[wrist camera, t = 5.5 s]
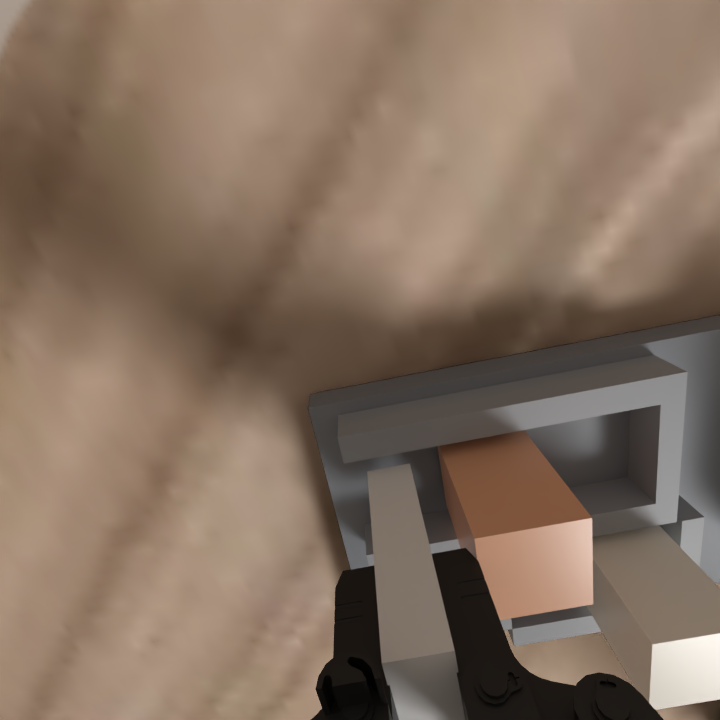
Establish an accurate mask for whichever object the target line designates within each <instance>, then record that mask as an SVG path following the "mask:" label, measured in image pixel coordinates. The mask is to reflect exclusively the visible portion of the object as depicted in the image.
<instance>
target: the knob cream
mask: <svg viewBox="0 0 720 720" xmlns="http://www.w3.org/2000/svg"><path fill="white" fill-rule="evenodd" d="M592 539H593V604H592V605H586V606H587V608H588V610H589V611H590V613H591V615H592V616H593V618H594V620H595V621H596V623H597V625H598V626H599V628H600V630H601V631H602V633H603V635H604V636H605V638H606V640H607V641H608V643H609V645H610V647H611V648H612V650H613V652H614V653H615V655H616V657H617V658H618V660H619V662H620V663H621V665H622V667H623V668H624V670H625V672H626V673H627V675H628V677H629V678H630V680H631V682H632V684H633V685H634V687H635V689H636V690H637V691H639V692H640V693H641V694H642V695H643V696H644V697H645V699H646V700H647V701H648V702H649V703H650V704H651V706H652V707H653V708H654V709H655V710H657V709H663V708H670V707H676V706H682V705H688V704H695V703H701V702H707V701H713V700H720V588H719V587H718V586H717V585H716V584H715V583H714V582H713V581H712V580H711V579H710V577H709V576H708V575H707V574H706V573H705V572H704V571H703V570H702V569H701V568H700V567H699V566H698V565H697V564H696V563H695V562H694V561H693V560H692V559H691V558H690V557H689V556H688V555H687V554H686V553H685V552H684V551H683V550H682V549H681V547H680V546H679V545H678V544H677V543H676V542H675V541H674V540H673V539H672V538H671V537H670V536H669V535H668V534H667V533H666V532H665V531H664V530H663V529H662V528H661V527H660V526H659V525H657V526H652V527H646V528H640V529H635V530H629V531H623V532H618V533H612V534H606V535H601V536H595V537H592Z"/></svg>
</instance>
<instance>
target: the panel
mask: <svg viewBox="0 0 720 720" xmlns="http://www.w3.org/2000/svg"><path fill="white" fill-rule="evenodd" d="M308 410H309V414H310V418H311V421H312V425H313V429H314V433H315V436H316V440H317V444H318V448H319V452H320V455H321V459H322V463H323V467H324V470H325V474H326V478H327V482H328V485H329V489H330V493H331V497H332V501H333V504H334V508H335V512H336V516H337V519H338V523H339V527H340V531H341V534H342V538H343V542H344V546H345V550H346V553H347V557H348V561H349V565H350V568H351V570H352V569H357V568H363V567H368V566H374V555H373V541H372V528H371V515H370V502H369V488H368V475H367V471H372V470H378V469H383V468H388V467H394V466H399V465H404V464H409V463H410V466H411V470H412V474H413V479H414V483H415V487H416V491H417V495H418V499H419V504H420V508H421V512H422V516H423V520H424V525H425V529H426V533H427V537H428V541H429V545H430V550H431V554H434V553H439V552H445V551H450V550H456V549H461V548H460V545H459V542H458V539H457V536H456V532H455V529H454V526H453V523H452V520H451V517H450V514H449V511H448V508H447V505H446V500H445V493H444V487H443V480H442V474H441V467H440V461H439V454H438V448H437V446H441V445H446V444H452V443H457V442H463V441H468V440H473V439H479V438H484V437H489V436H495V435H500V434H505V433H511V432H516V431H522V430H524V431H525V432H526V433H527V435H528V436H529V437H530V439H531V440H532V441H533V442H534V444H535V445H536V446H537V448H538V449H539V450H540V451H541V453H542V454H543V455H544V457H545V458H546V459H547V460H548V462H549V463H550V464H551V466H552V467H553V468H554V469H555V471H556V472H557V473H558V475H559V476H560V477H561V478H562V480H563V481H564V482H565V484H566V485H567V486H568V487H569V489H570V490H571V491H572V493H573V494H574V495H575V496H576V498H577V499H578V500H579V502H580V503H581V504H582V505H583V507H584V508H585V509H586V511H587V512H588V513H589V514H590V516H591V517H592V537H595V536H601V535H606V534H612V533H618V532H623V531H629V530H635V529H640V528H646V527H652V526H657V525H659V526H660V527H661V528H662V529H663V530H664V531H665V532H666V533H667V534H668V535H669V536H670V537H671V538H672V539H673V540H674V541H675V542H676V543H677V544H678V545H679V546H680V547H681V549H682V550H683V551H684V552H685V553H686V554H687V555H688V556H689V557H690V558H691V559H692V560H693V561H694V562H695V563H696V564H697V565H698V566H699V567H700V568H701V569H702V570H703V571H704V572H705V573H706V574H707V575H708V576H709V577H710V579H711V580H712V581H713V582H714V583H720V315H717V316H712V317H707V318H702V319H697V320H692V321H686V322H681V323H676V324H671V325H666V326H661V327H655V328H650V329H645V330H640V331H635V332H629V333H624V334H619V335H614V336H609V337H604V338H598V339H593V340H588V341H583V342H578V343H573V344H567V345H562V346H557V347H552V348H547V349H542V350H536V351H531V352H526V353H521V354H516V355H510V356H505V357H500V358H495V359H490V360H485V361H479V362H474V363H469V364H464V365H459V366H454V367H448V368H443V369H438V370H433V371H428V372H423V373H417V374H412V375H407V376H402V377H397V378H391V379H386V380H381V381H376V382H371V383H366V384H360V385H355V386H350V387H345V388H340V389H335V390H329V391H324V392H319V393H314V394H310V400H309V405H308ZM500 622H501V624H502V627H503V630H508V631H509V634H510V637H511V639H512V642H513V645H514V646H520V645H526V644H531V643H537V642H543V641H549V640H555V639H561V638H567V637H573V636H579V635H585V634H591V633H597V632H602V631H601V630H600V628H599V626H598V625H597V623H596V621H595V620H594V618H593V616H592V615H591V613H590V611H589V610H588V608H587V606H581V607H575V608H569V609H563V610H557V611H551V612H545V613H539V614H534V615H528V616H522V617H516V618H510V619H504V620H500Z"/></svg>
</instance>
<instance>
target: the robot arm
mask: <svg viewBox="0 0 720 720" xmlns="http://www.w3.org/2000/svg"><path fill="white" fill-rule="evenodd" d="M367 475H368V488H369V502H370V515H371V528H372V541H373V555H374V566H368V567H363V568H357V569H352V570H346V571H343V572H342V575H341V577H340V579H339V581H338V583H337V585H336V588H335V624H334V656H333V659H332V660H330V661H329V662H328V663H327V664H326V665H325V667H324V668H323V670H322V671H321V673H320V675H319V677H318V681H317V686H316V692H317V694H318V697H319V700H320V703H321V706H322V709H321V710H320V711H319V713H318V714H317V715H316V716H315V717H314V718H312V719H311V720H663V718H662V717H661V716H660V715H659V714H658V713H657V711H656V710H655V709H654V708H653V707H652V706H651V704H650V703H649V702H648V701H647V700H646V699H645V697H644V696H643V695H642V694H641V693H640V692H639V691H637V690H636V689H635V688H634V687H633V686H632V685H631V684H630V683H628V682H626V681H624V680H622V679H620V678H618V677H616V676H614V675H610V674H604V673H595V674H590V675H586V676H585V677H584V678H582V679H581V680H580V681H579V682H578V683H577V685H576V686H574V685H569V684H563V683H558V682H552V681H549V680H545V679H542V678H539V677H537V676H536V675H534V674H532V673H530V672H529V671H528V670H526V669H525V668H524V667H523V666H522V665H521V664H520V663H519V662H518V661H517V659H516V658H515V657H514V655H513V653H512V651H511V649H510V646H509V644H508V641H507V638H506V635H505V633H504V630H503V627H502V624H501V622H500V619H499V616H498V613H497V611H496V608H495V605H494V602H493V600H492V597H491V595H490V591H489V589H488V586H487V583H486V581H485V578H484V575H483V572H482V569H481V567H480V564H479V561H478V560H477V559H476V558H475V557H474V556H473V555H472V554H471V553H470V552H469V551H468V550H467V549H466V548H461V549H456V550H450V551H445V552H439V553H434V554H431V550H430V545H429V541H428V537H427V533H426V529H425V525H424V520H423V516H422V512H421V508H420V504H419V499H418V495H417V491H416V487H415V483H414V479H413V474H412V470H411V466H410V463H409V464H404V465H399V466H394V467H388V468H383V469H378V470H372V471H367Z"/></svg>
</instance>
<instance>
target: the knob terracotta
mask: <svg viewBox="0 0 720 720" xmlns="http://www.w3.org/2000/svg"><path fill="white" fill-rule="evenodd" d="M437 448H438V454H439V461H440V467H441V474H442V480H443V487H444V493H445V500H446V505H447V508H448V511H449V514H450V517H451V520H452V523H453V526H454V529H455V532H456V536H457V539H458V542H459V545H460V548H466V549H467V550H468V551H469V552H470V553H471V554H472V555H473V556H474V557H475V558H476V559H477V560H478V561H479V564H480V567H481V569H482V572H483V575H484V578H485V581H486V583H487V586H488V589H489V591H490V595H491V597H492V600H493V602H494V605H495V608H496V611H497V613H498V616H499V619H500V620H504V619H510V618H516V617H522V616H528V615H534V614H539V613H545V612H551V611H557V610H563V609H569V608H575V607H581V606H586V605H592V604H593V539H592V517H591V516H590V514H589V513H588V512H587V511H586V509H585V508H584V507H583V505H582V504H581V503H580V502H579V500H578V499H577V498H576V496H575V495H574V494H573V493H572V491H571V490H570V489H569V487H568V486H567V485H566V484H565V482H564V481H563V480H562V478H561V477H560V476H559V475H558V473H557V472H556V471H555V469H554V468H553V467H552V466H551V464H550V463H549V462H548V460H547V459H546V458H545V457H544V455H543V454H542V453H541V451H540V450H539V449H538V448H537V446H536V445H535V444H534V442H533V441H532V440H531V439H530V437H529V436H528V435H527V433H526V432H525V431H524V430H522V431H516V432H511V433H505V434H500V435H495V436H489V437H484V438H479V439H473V440H468V441H463V442H457V443H452V444H446V445H441V446H437Z"/></svg>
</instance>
